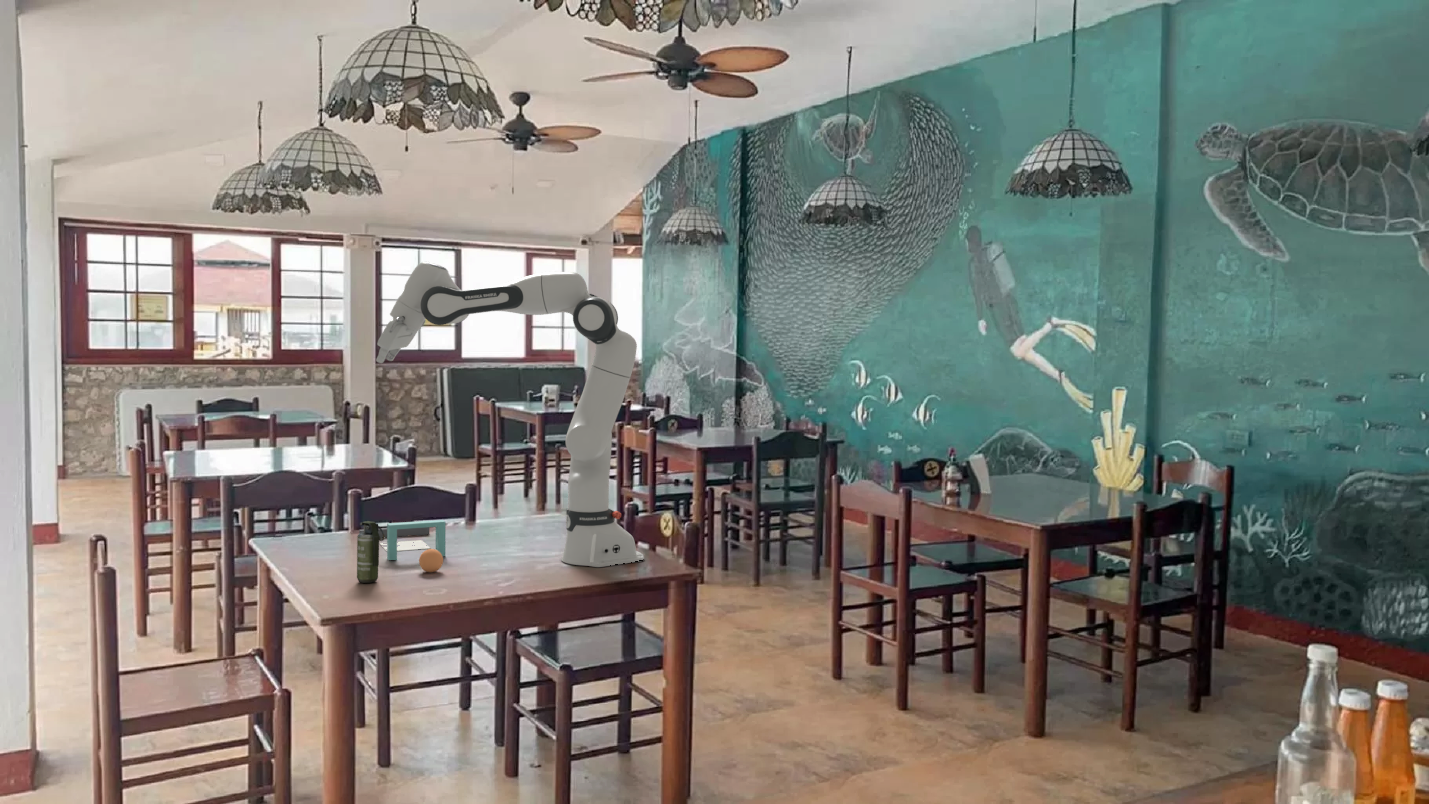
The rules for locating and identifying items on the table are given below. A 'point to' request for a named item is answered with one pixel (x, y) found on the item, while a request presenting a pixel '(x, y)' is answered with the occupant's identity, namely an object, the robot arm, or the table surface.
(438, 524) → the bridge
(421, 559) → the ball
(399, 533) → the stopper
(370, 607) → the table surface
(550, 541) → the table surface
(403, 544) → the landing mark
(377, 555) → the grenade
